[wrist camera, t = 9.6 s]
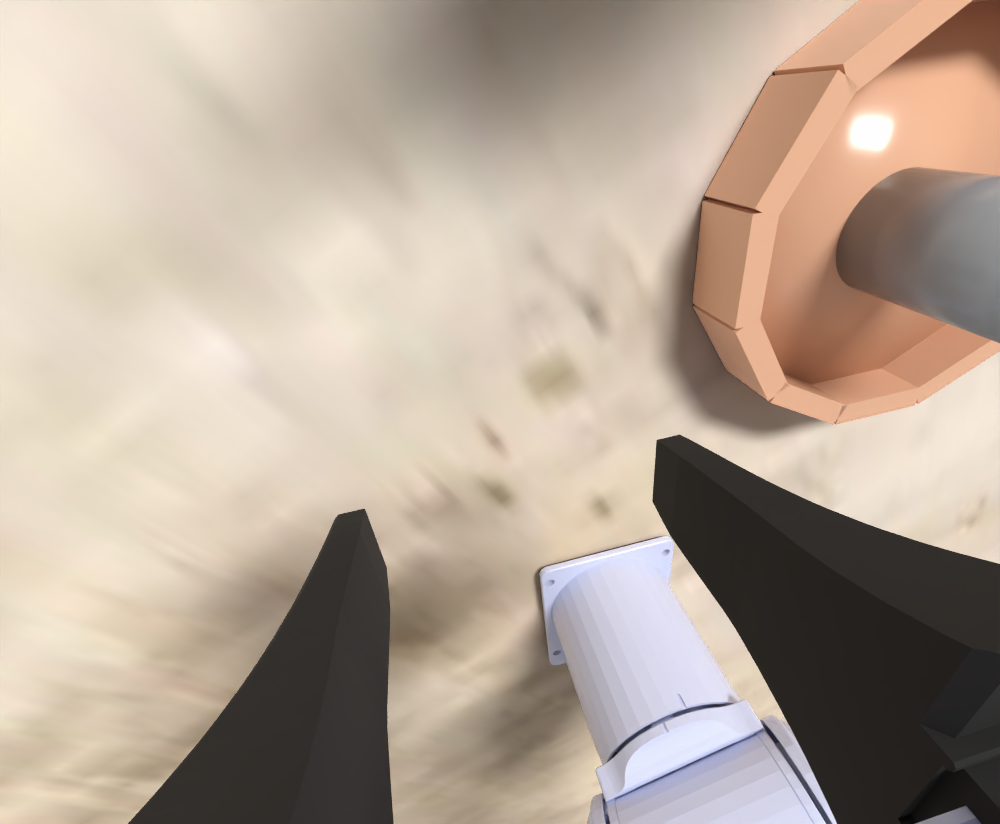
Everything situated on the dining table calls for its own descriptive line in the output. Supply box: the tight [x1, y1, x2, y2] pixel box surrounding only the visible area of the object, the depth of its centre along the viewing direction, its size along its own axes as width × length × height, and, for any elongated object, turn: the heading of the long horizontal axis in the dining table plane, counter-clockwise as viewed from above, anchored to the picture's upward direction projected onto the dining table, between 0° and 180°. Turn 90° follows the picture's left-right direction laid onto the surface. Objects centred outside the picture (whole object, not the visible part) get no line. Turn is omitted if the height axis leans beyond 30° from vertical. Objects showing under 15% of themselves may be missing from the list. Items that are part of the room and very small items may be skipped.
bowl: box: [692, 0, 1000, 424], centre depth 19 cm, size 16×16×3 cm
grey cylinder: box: [836, 167, 1000, 343], centre depth 17 cm, size 5×5×6 cm
